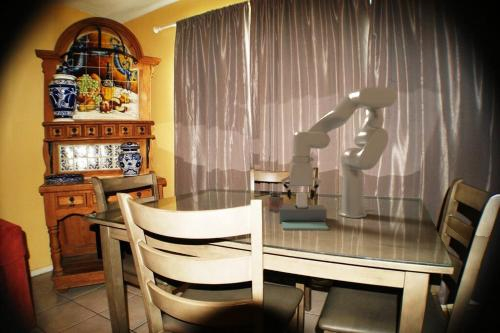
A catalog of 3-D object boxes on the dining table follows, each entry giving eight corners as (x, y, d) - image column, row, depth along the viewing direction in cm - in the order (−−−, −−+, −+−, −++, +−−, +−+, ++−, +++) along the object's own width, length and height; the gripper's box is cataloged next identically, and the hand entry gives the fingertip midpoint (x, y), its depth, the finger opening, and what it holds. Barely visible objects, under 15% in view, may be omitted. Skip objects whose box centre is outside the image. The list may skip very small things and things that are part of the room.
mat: (324, 224, 121) (324, 222, 121) (328, 230, 113) (328, 228, 113) (281, 223, 122) (281, 222, 122) (282, 229, 114) (282, 227, 114)
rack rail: (322, 217, 130) (322, 204, 130) (326, 223, 122) (326, 209, 121) (278, 217, 132) (278, 204, 131) (279, 223, 123) (279, 209, 122)
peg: (305, 219, 129) (305, 192, 127) (307, 221, 124) (307, 194, 123) (296, 218, 129) (296, 192, 128) (297, 221, 125) (297, 194, 124)
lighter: (267, 211, 143) (267, 191, 142) (269, 209, 146) (269, 190, 145) (282, 213, 139) (282, 193, 138) (284, 211, 142) (284, 191, 141)
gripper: (319, 160, 127) (318, 197, 129) (281, 159, 128) (280, 196, 130) (323, 161, 120) (322, 201, 121) (281, 160, 121) (281, 200, 122)
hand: (300, 198), depth 126 cm, fingers open, 9 cm apart
